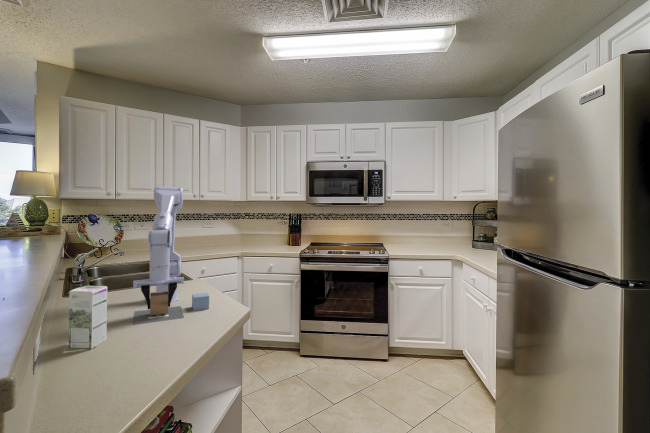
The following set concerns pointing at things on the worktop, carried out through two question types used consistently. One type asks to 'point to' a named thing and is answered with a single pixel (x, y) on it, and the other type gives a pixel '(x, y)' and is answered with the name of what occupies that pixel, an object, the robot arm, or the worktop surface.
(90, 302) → the syrup box
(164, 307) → the walnut block
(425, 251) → the worktop surface
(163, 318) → the letter mat
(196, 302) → the blue cube
